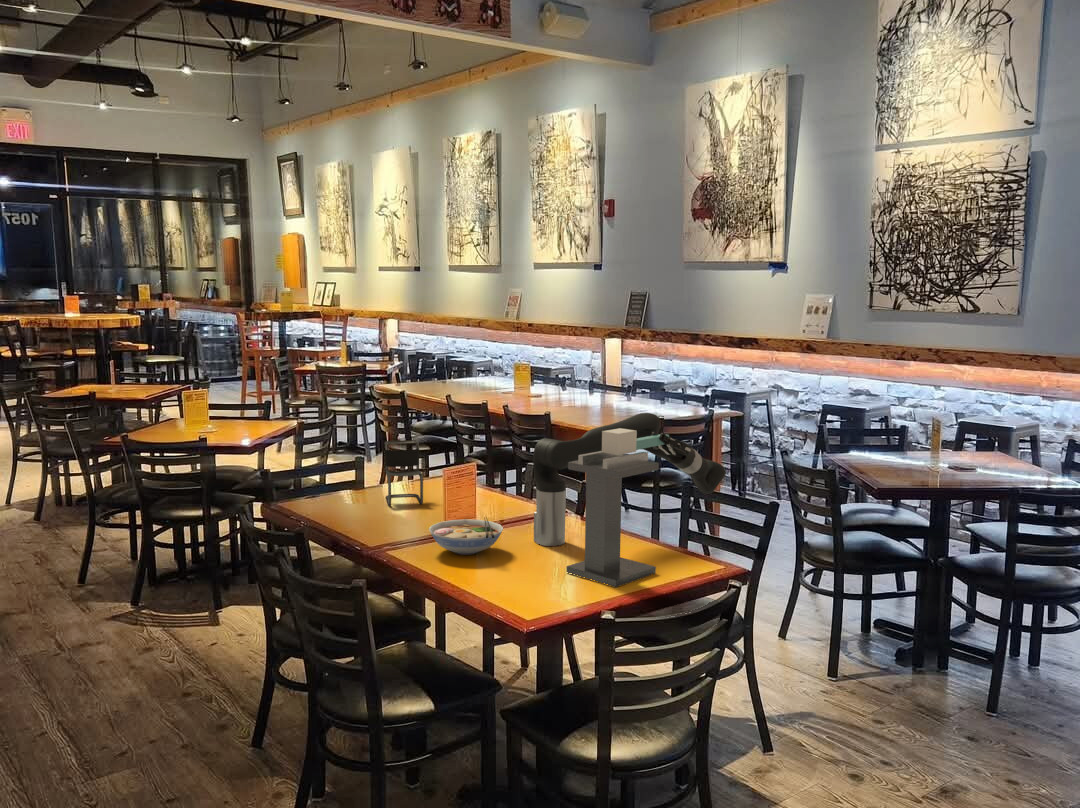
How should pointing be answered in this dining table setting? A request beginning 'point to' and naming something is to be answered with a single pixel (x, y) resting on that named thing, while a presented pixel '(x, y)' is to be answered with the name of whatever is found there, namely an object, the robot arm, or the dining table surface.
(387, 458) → the chair
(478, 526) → the ramen bowl
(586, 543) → the stand
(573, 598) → the dining table surface
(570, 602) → the dining table surface
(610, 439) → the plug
